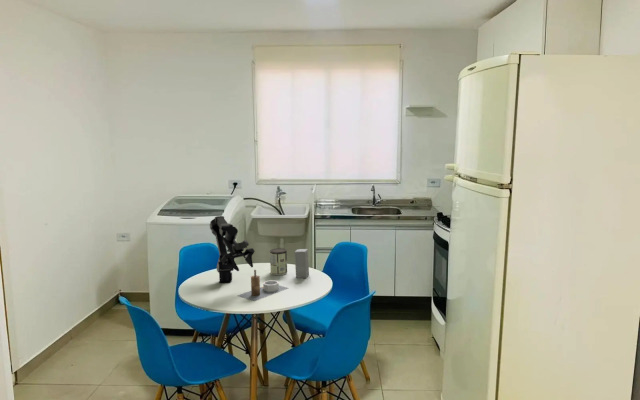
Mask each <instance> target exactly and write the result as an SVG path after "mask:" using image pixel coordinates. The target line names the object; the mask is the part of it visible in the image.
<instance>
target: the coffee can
mask: <svg viewBox="0 0 640 400" xmlns="http://www.w3.org/2000/svg"><path fill="white" fill-rule="evenodd" d="M287 251H288V249H286V248H282V247H281V248H280V247H279V248H272V249H269V259H270V260H269V263H270V265H269V266H270V274H271V275H272V276H283V275H286V274H288V258H287V255H288V253H287Z"/></svg>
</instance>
